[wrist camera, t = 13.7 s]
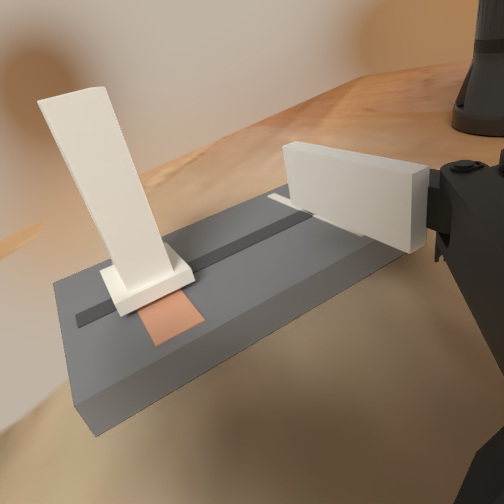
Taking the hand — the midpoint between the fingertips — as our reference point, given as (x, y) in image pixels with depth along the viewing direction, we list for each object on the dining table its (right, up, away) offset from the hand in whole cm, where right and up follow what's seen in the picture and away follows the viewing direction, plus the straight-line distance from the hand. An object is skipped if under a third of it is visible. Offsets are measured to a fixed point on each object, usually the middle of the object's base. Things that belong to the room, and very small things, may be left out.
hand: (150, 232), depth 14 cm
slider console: (+2, -3, +14) cm, 15 cm away
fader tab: (-3, -3, +11) cm, 12 cm away
